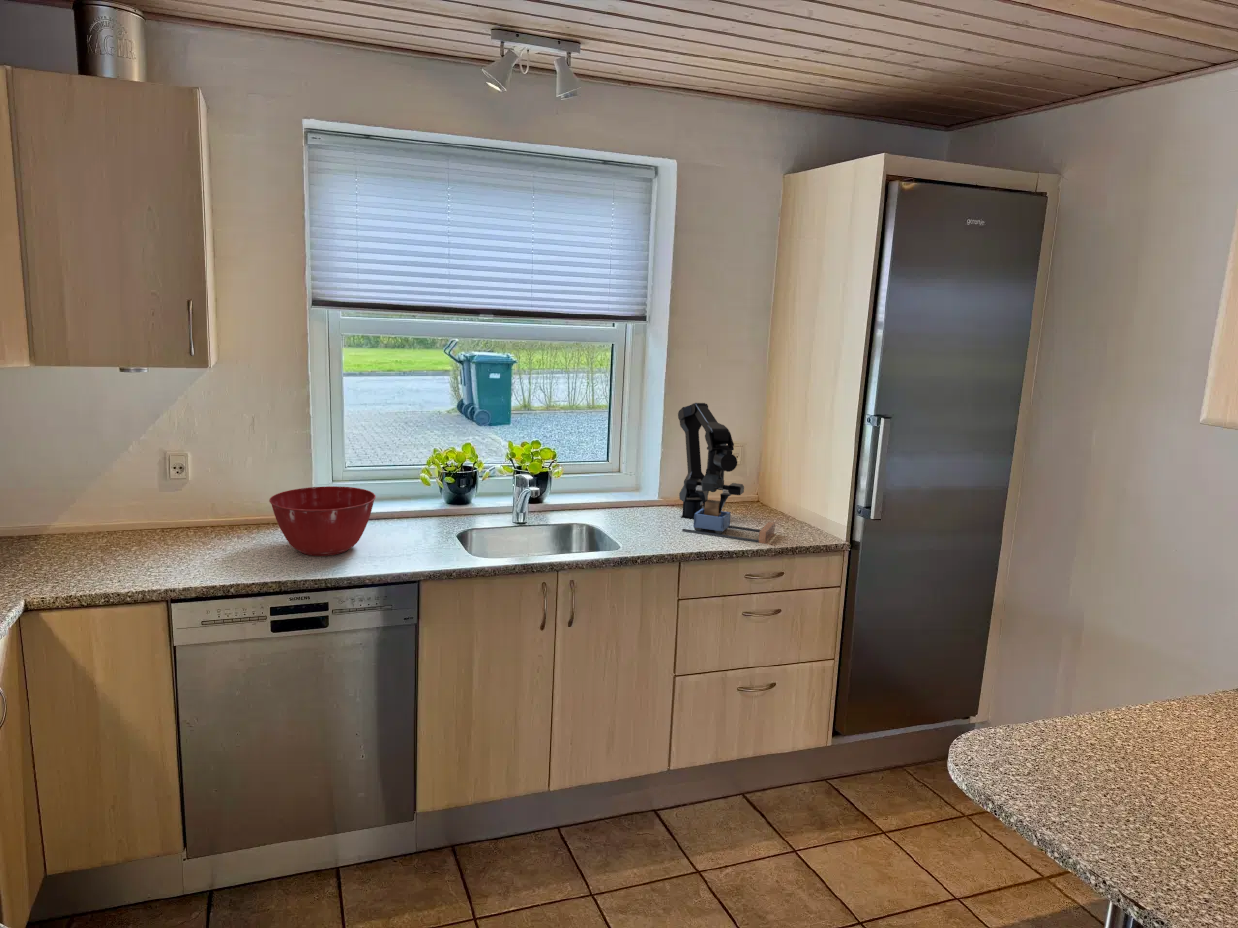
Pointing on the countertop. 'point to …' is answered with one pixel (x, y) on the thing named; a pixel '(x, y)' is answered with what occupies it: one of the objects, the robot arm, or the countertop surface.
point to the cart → (711, 521)
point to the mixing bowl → (323, 517)
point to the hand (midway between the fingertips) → (712, 511)
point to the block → (712, 508)
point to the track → (764, 532)
